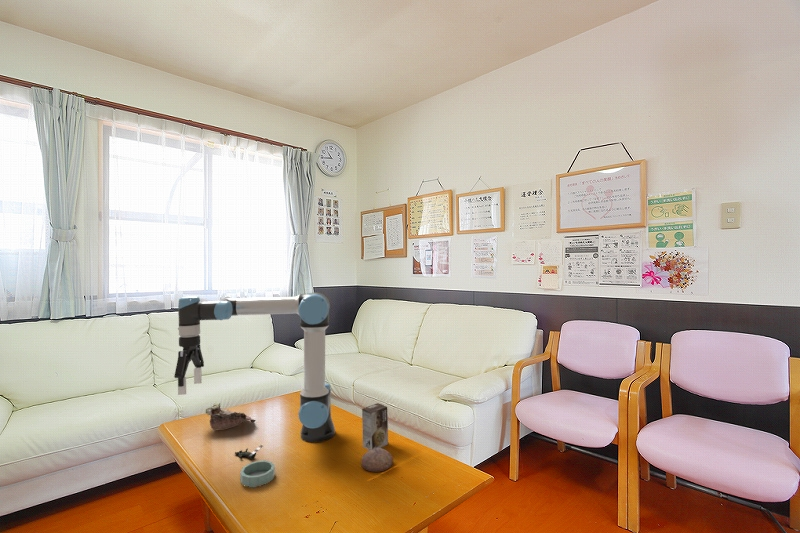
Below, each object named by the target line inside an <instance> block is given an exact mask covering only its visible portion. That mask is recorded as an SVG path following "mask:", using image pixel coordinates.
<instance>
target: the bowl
mask: <svg viewBox="0 0 800 533" xmlns="http://www.w3.org/2000/svg"><path fill="white" fill-rule="evenodd" d="M275 469H276V465H275V463H274V462H273V461H270V460H263V459H262V460H256V461H253V462H249V463H248V464H247V463H246V465H245V466H243V467H242V468H241V470H240V472H239V476H240V477H239V480H240V484H241V483H242V484H243V485H245V486H249V487H248V488H257V487H256V486H259V487H262V486H261V485H263V484H265V485H267V484H269V483H270V481H271V480H272V479H273V480H274V479H275V474H276V470H275ZM273 480H272V481H273ZM272 481H271V482H272ZM268 482H269V483H268ZM266 483H267V484H266ZM242 484H241V485H242ZM243 485H242V486H243ZM245 486H244V487H245ZM263 486H264V485H263Z"/></svg>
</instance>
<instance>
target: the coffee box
mask: <svg viewBox="0 0 800 533" xmlns="http://www.w3.org/2000/svg"><path fill="white" fill-rule="evenodd" d="M361 411H362V412H361V414H362V415H361V416H362V422H361V423H362V447H363V448H364V449H366V450H367V451H369V450H371V449H374V448H383V447H386V446H387V445H388V444H389V424H388V420H389V419H388V406H385V405H384V404H381V403H379V402H378V403H374V404H372V405H369V406H366V407H363V408H362V410H361Z"/></svg>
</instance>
